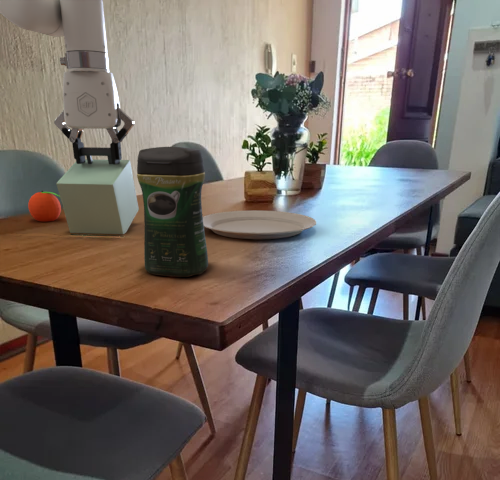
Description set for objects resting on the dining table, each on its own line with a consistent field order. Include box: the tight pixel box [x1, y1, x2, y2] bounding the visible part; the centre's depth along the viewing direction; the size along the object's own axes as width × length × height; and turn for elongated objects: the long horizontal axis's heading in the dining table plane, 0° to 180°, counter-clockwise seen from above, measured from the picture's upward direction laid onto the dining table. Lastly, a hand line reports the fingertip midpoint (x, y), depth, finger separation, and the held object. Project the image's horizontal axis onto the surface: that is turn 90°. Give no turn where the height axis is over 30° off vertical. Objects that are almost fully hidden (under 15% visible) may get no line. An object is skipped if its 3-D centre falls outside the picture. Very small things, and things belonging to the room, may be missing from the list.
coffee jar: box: [136, 146, 209, 278], centre depth 77 cm, size 10×8×19 cm
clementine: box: [27, 190, 62, 223], centre depth 115 cm, size 8×7×7 cm
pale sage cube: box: [55, 146, 140, 238], centre depth 104 cm, size 14×11×12 cm
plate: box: [202, 209, 317, 240], centre depth 110 cm, size 26×26×2 cm
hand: (98, 162), depth 103 cm, fingers closed on pale sage cube, 6 cm apart
